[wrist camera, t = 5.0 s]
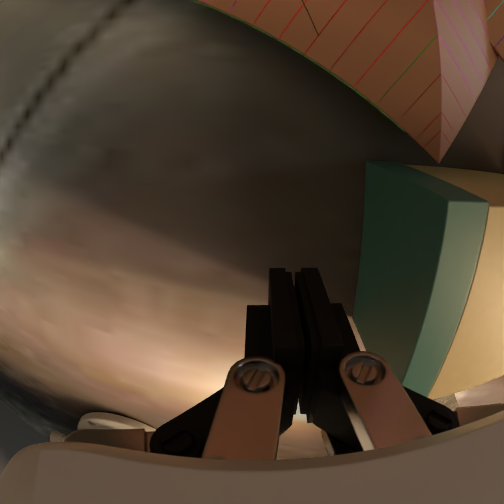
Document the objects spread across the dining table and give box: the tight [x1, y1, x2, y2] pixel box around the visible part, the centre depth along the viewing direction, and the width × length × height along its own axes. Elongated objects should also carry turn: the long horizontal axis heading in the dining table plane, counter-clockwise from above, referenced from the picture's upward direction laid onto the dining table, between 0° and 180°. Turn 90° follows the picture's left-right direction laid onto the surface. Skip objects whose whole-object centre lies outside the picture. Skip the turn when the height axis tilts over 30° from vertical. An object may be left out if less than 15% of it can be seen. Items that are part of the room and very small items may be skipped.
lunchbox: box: [353, 161, 504, 400], centre depth 13 cm, size 11×10×8 cm
